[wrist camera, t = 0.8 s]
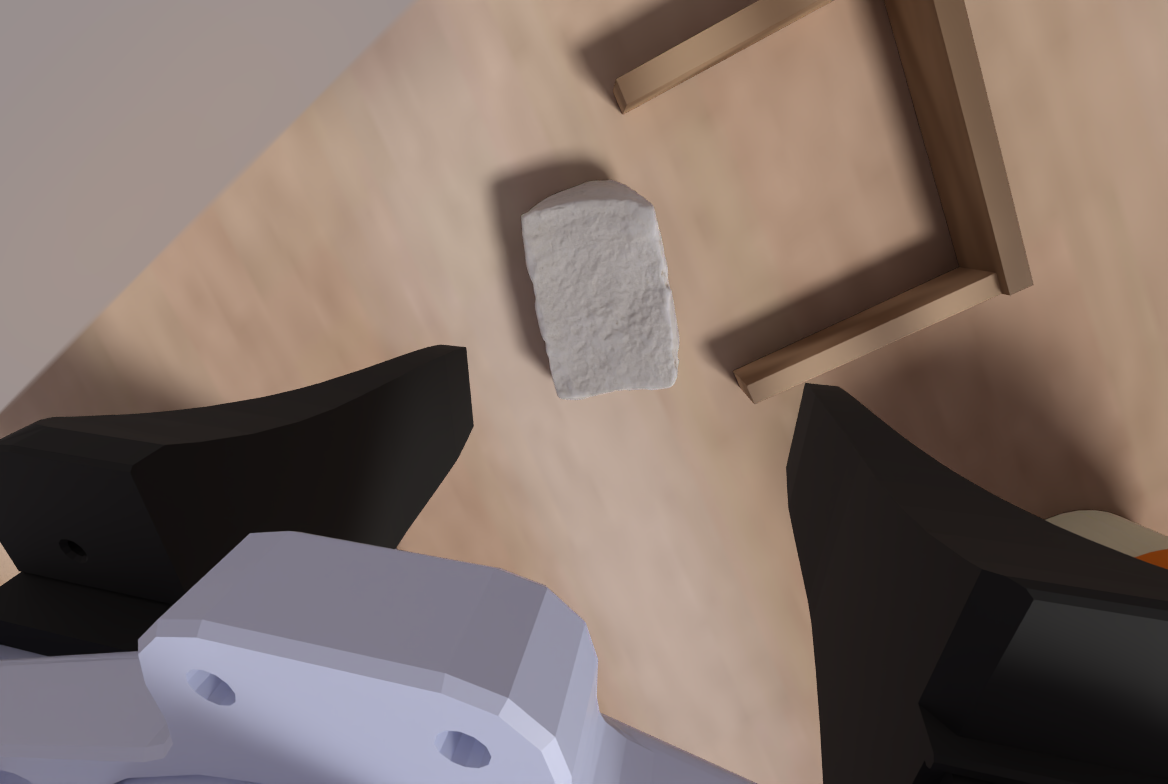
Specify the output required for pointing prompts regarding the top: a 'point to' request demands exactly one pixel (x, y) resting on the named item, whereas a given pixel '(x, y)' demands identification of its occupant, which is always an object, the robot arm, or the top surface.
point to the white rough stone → (601, 290)
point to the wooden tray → (957, 157)
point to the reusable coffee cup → (1116, 534)
